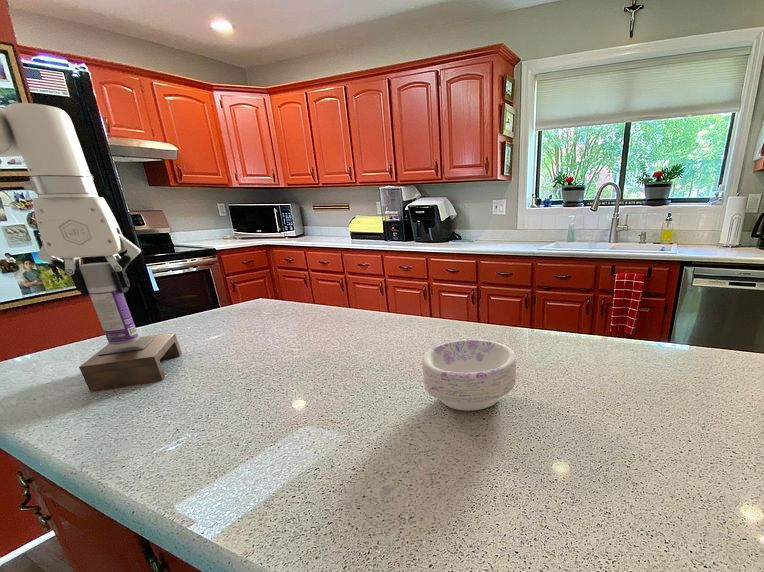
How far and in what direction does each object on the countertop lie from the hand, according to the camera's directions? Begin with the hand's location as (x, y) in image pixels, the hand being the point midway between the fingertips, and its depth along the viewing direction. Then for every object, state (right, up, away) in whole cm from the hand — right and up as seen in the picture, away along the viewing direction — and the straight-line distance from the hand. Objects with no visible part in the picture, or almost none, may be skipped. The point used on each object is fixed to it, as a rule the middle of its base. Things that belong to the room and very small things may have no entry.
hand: (106, 292), depth 75 cm
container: (0, -9, +4) cm, 10 cm away
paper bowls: (+70, -19, -8) cm, 73 cm away
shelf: (+2, -15, +6) cm, 16 cm away
